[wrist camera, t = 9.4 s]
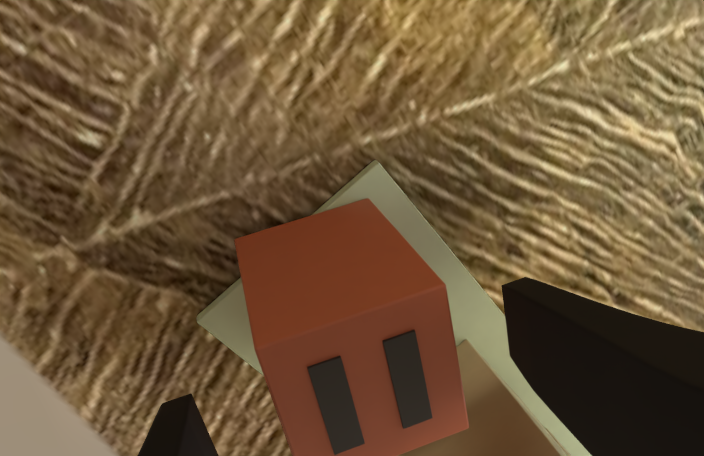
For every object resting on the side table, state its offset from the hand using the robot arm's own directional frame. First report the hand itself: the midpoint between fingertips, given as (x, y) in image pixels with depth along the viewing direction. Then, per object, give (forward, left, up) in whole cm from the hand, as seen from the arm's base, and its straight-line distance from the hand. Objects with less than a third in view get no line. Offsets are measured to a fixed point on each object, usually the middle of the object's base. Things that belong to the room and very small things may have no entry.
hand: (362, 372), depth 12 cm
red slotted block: (0, 0, -5) cm, 5 cm away
